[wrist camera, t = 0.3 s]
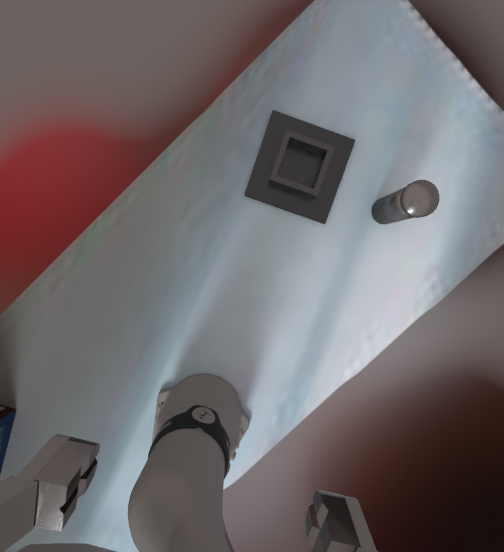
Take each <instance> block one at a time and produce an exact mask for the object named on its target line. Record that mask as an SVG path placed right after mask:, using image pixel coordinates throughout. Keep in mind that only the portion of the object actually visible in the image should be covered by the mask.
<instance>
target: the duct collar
mask: <svg viewBox="0 0 504 552" xmlns="http://www.w3.org/2000/svg"><path fill="white" fill-rule="evenodd" d="M354 142H355V140H354V139H351V138H348V137H345V136H343V135H340V134H337V133H334V132H332V131H329V130H326V129H323V128H321V127H318V126H315V125H312V124H310V123H307V122H304V121H301V120H299V119H296V118H293V117H290V116H288V115H285V114H282V113H279V112H277V111H274V110H273V112H272V115H271V118H270V121H269V124H268V127H267V130H266V133H265V136H264V139H263V142H262V144H261V147H260V150H259V153H258V156H257V159H256V162H255V165H254V168H253V171H252V174H251V177H250V180H249V183H248V186H247V189H246V192H245V196H247V197H250V198H253V199H255V200H258V201H261V202H264V203H267V204H270V205H272V206H275V207H278V208H281V209H284V210H287V211H289V212H292V213H295V214H298V215H301V216H303V217H306V218H309V219H312V220H315V221H318V222H320V223H323V224H325V223H326V220H327V217H328V214H329V211H330V209H331V206H332V203H333V200H334V198H335V195H336V192H337V189H338V187H339V184H340V181H341V178H342V176H343V173H344V170H345V167H346V164H347V162H348V159H349V156H350V153H351V151H352V148H353V145H354Z"/></svg>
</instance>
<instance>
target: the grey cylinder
mask: <svg viewBox="0 0 504 552" xmlns="http://www.w3.org/2000/svg"><path fill="white" fill-rule="evenodd" d="M438 203H439V192H438V190H437V188H436V186H435V185H434V184H432V183H431V182H429V181H426V180H418V181H415V182H413V183H411V184H409V185H407V186H406V187H405V188H403V189H400V190H398V191H396V192H394V193H391V194H389V195H387V196H385V197H383V198H380V199H378V200H377V201H376V202H375V203H374V204H373V206H372V216H373V218H374V220H375V221H376V222H378V223H380V224H390V223H394V222H398V221H402V220H406V219H410V218H420V217H424V216H427V215H429V214H431V213H432V212H433V211H434V210H435V209H436V208H437V206H438Z"/></svg>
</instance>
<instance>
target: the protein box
mask: <svg viewBox="0 0 504 552" xmlns="http://www.w3.org/2000/svg"><path fill="white" fill-rule="evenodd" d="M15 414H16V410H15V409H12V408H8V407H5V406H1V405H0V472H1V468H2V464H3V460H4V456H5V452H6V448H7V445H8V441H9V437H10V433H11V429H12V425H13V421H14V417H15Z"/></svg>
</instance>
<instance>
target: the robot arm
mask: <svg viewBox="0 0 504 552" xmlns="http://www.w3.org/2000/svg"><path fill="white" fill-rule="evenodd" d="M162 402H164V403H162ZM249 424H250V420H249V418H248V416H247V415H246V414H245V413H244V411H243V410H242V408H241V405H240V401H239V398H238V396H237V394H236V392H235V390H234V389H233V388H232V387H231V386H230V385H229V384H228V383H227V382H226V381H224V380H223V379H221V378H218V377H216V376H212V375H195V376H192V377H189V378H187V379H185V380H183V381H182V382H181V383H179V384H178V385H176V386H175V387H172V388H168V389H165V390H162V391H161V392H160V393H159V395H158V398H157V407H156V415H155V424H154V432H153V441H152V446H151V448H150V451H149V455H148V460H147V462H146V464H145V466H144V468H143V470H142V472H141V474H140V476H139V478H138V480H137V482H136V483H135V485H134V488H133V490H132V492H131V495H130V499H129V504H128V520H129V527H130V531H131V536H132V539H133V542H134V544H135V546H136V547H137V549H138V550H139V552H234V550H233V548H232V545H231V543H230V540H229V538H228V535H227V532H226V529H225V525H224V520H223V513H222V500H223V482H224V479H225V477H226V476H227V474H228V472H229V469H230V463H229V462H230V459H231V460H234V458H235V456H236V452H235V449H237V448H238V447H239V443H240V441H241V439H242V437H243V436H244V434H245V433H246V431H247V429H248V428H249ZM241 428H242V429H241ZM99 448H100V444H98V443H94V442H90V441H86V440H82V439H78V438H74V437H69V436H65V435H61V434H56V435H55V436H53V437H52V438H51V439H50V440H49V441H48V442H47V443H46V445H45V446H44V447H43V448H42V449H41V450H40V451H39V452H38V453H37V454H36V456H35V457H34V458H33V459H32V460H31V461H30V462H29V463H28V464H27V465H26V467H25V468H24V469H23V470H22V471H21V472H20V473H19V474H18V475H17V476H16V477H13V476H11V477H9V478H7V479H5V480H3V481H1V482H0V552H4V551H5V550H7V549H8V548H9V547H10V546H12V545H13V544H14V543H15V542H17V541H18V540H19V539H21V538H22V537H23V536H24V535H26V534H27V533H28V532H30V531H31V530H32V529H33V527H41V528H47V529H53V530H59V531H62V529H63V528H64V526H65V525H66V523H67V521H68V520H69V518H70V516H71V515H72V513H73V512H74V510H75V508H76V503H77V498H79V497H80V496H82V495H83V494H84V493H85V492H86V490H87V488H88V487H89V485H90V483H91V481H92V479H93V476H94V474H95V471H96V468H97V460H96V458H95V457H96V456H97V454H98V453H99ZM313 502H314V503H313V504H312V505H310V506H309V508H308V511H307V514H306V535H307V540H308V542H309V543H310V545H311V546H312V548H313V549H312V551H311V552H378V551H376V548H375V545H374V543H373V540H372V537H371V535H370V532H369V529H368V527H367V524H366V521H365V519H364V516H363V513H362V510H361V508H360V505H359V502H358V501H357V499H356V498H352V497H347V496H342V495H339V494H334V493H329V492H324V491H319V490H317V491H316V492H315V493H314V495H313ZM17 552H116V551H113V550H109V549H105V548H102V547H98V546H94V545H91V544H86V543H53V544H30V545H27V546H25V547H23V548H22V549H20V550H19V551H17Z"/></svg>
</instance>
